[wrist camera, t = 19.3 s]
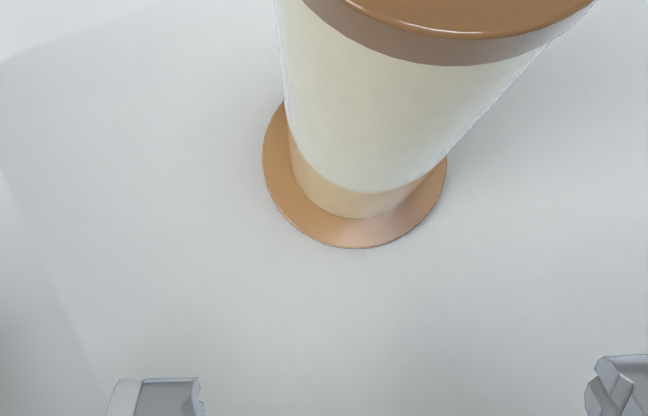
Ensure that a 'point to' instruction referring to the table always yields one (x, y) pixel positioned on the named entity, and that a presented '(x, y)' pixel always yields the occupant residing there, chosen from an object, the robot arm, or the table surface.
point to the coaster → (327, 224)
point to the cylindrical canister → (397, 86)
